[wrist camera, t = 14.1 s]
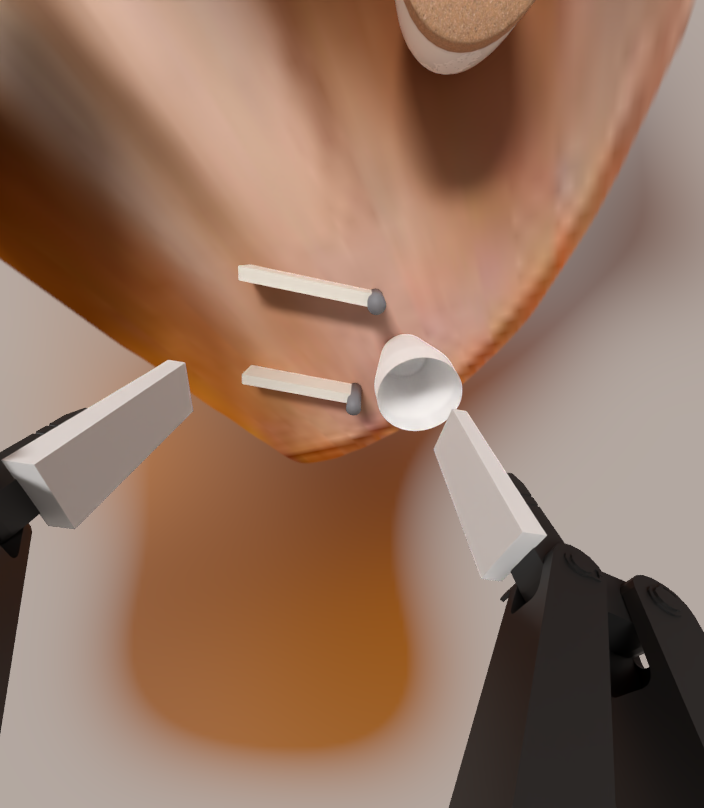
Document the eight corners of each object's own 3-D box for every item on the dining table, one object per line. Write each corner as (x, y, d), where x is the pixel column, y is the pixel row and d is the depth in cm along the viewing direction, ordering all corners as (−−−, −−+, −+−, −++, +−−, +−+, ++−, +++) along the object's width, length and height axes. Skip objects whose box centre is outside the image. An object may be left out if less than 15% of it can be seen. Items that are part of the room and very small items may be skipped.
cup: (362, 339, 36) (362, 375, 26) (426, 313, 34) (453, 341, 24) (384, 392, 40) (391, 441, 30) (442, 372, 38) (471, 417, 28)
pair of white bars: (251, 375, 40) (234, 393, 35) (250, 262, 32) (227, 264, 27) (360, 395, 41) (359, 416, 36) (384, 290, 33) (387, 297, 28)
